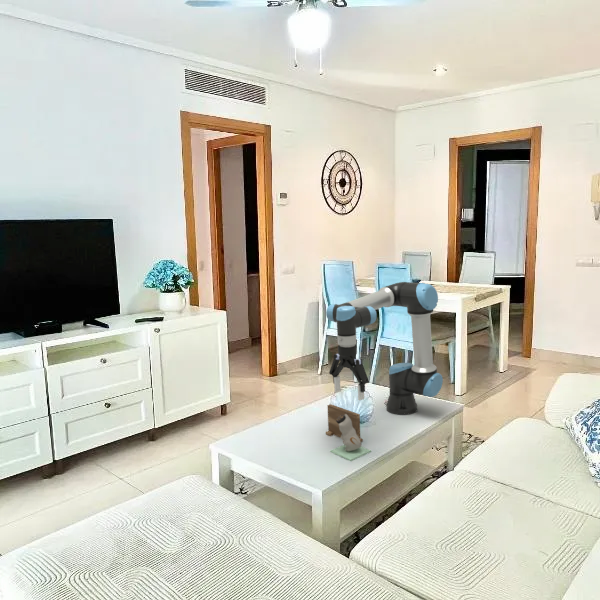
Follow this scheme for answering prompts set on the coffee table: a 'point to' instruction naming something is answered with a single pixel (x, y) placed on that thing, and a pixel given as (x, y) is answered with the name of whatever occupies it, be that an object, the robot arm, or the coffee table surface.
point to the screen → (334, 426)
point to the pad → (350, 452)
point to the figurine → (348, 433)
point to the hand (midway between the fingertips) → (349, 395)
